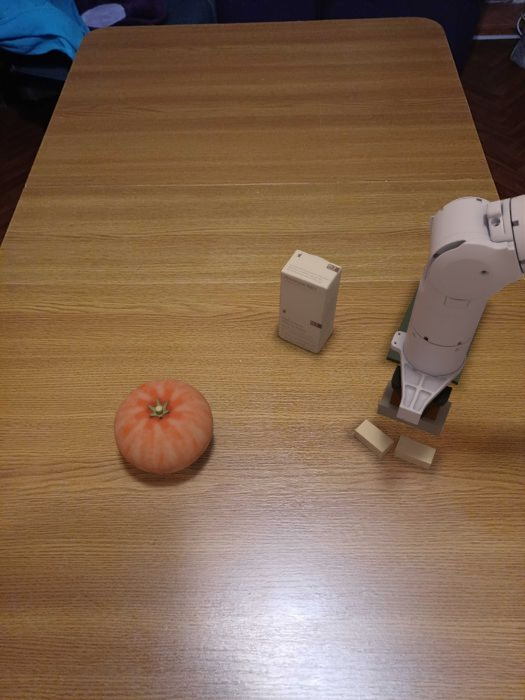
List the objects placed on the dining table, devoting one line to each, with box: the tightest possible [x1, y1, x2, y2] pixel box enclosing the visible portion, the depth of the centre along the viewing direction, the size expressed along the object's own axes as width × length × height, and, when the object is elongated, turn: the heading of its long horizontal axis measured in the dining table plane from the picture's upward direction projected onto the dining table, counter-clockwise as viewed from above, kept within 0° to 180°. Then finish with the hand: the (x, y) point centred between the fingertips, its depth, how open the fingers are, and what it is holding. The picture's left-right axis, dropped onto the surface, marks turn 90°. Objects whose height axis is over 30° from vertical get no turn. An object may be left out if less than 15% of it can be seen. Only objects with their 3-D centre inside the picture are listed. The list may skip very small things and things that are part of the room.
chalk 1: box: [353, 418, 394, 459], centre depth 69 cm, size 4×2×1 cm, turn 44°
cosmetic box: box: [277, 248, 343, 354], centre depth 74 cm, size 6×4×12 cm
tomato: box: [113, 378, 214, 474], centre depth 67 cm, size 11×11×8 cm
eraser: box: [376, 379, 453, 438], centre depth 66 cm, size 7×4×4 cm, turn 64°
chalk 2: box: [393, 435, 437, 470], centre depth 68 cm, size 4×2×1 cm, turn 64°
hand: (416, 402), depth 66 cm, fingers closed on eraser, 2 cm apart
